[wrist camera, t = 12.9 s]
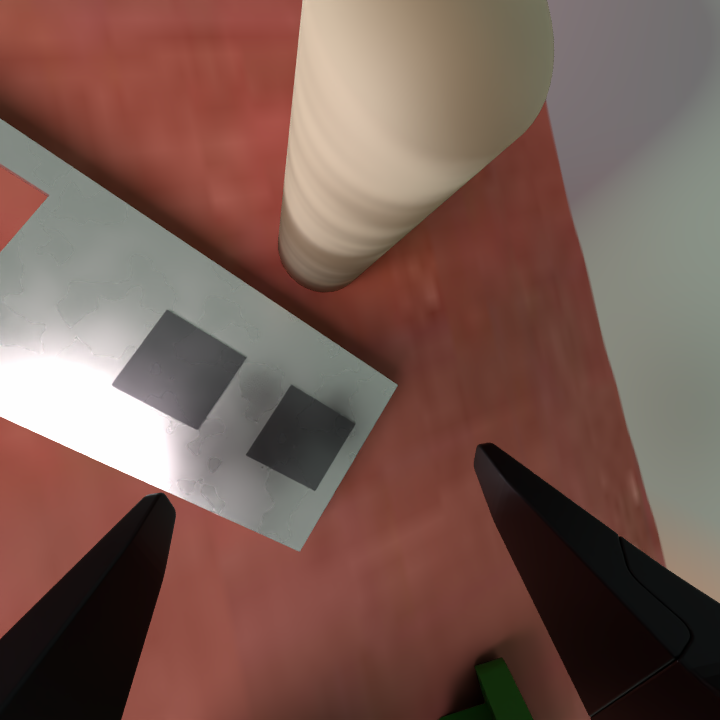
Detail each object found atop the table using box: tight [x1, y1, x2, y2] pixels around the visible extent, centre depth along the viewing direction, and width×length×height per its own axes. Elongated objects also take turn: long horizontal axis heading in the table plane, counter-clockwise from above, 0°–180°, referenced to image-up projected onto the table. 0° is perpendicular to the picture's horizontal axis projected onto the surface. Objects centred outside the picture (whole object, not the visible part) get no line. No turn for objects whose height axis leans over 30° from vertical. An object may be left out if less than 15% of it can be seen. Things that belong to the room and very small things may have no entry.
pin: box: [278, 0, 554, 292], centre depth 12 cm, size 5×5×13 cm
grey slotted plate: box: [0, 119, 398, 552], centre depth 14 cm, size 10×26×2 cm, turn 57°
